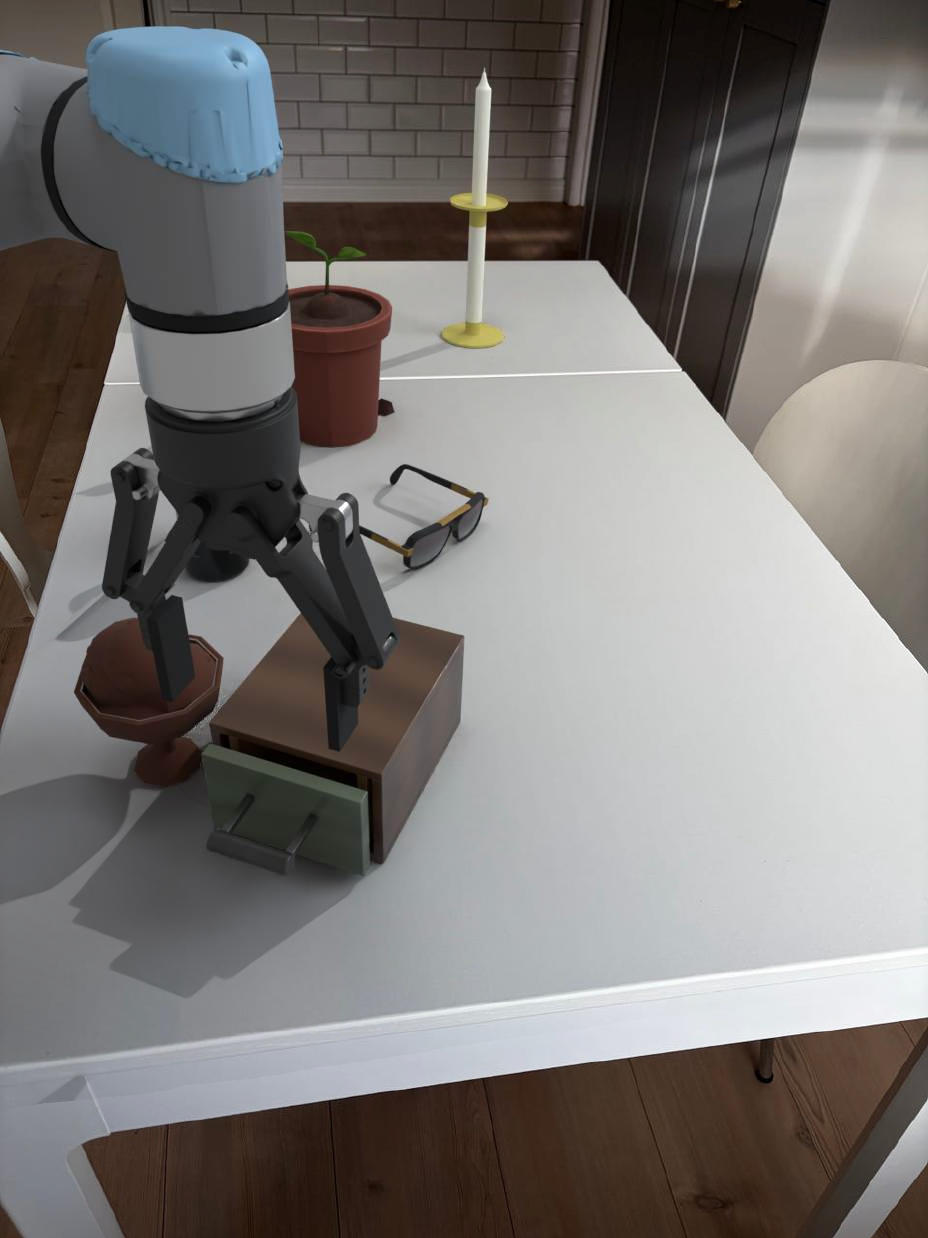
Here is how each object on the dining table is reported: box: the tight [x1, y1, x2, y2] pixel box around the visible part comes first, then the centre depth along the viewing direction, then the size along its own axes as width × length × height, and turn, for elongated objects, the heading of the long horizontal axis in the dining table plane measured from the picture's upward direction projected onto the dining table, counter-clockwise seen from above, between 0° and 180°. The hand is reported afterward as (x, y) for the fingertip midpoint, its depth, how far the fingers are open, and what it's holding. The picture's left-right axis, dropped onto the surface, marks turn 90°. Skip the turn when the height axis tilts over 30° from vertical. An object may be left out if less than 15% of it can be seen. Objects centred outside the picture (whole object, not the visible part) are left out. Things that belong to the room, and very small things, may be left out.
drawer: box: [201, 736, 373, 878], centre depth 75 cm, size 21×12×8 cm, turn 160°
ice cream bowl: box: [73, 617, 225, 788], centre depth 76 cm, size 11×11×15 cm
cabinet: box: [208, 612, 465, 865], centre depth 79 cm, size 17×14×10 cm
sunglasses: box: [308, 463, 490, 571], centre depth 109 cm, size 14×15×5 cm
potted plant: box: [284, 230, 395, 448], centre depth 124 cm, size 18×22×25 cm
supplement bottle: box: [174, 509, 251, 582], centre depth 100 cm, size 7×7×12 cm
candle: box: [440, 67, 509, 349], centre depth 145 cm, size 10×10×38 cm
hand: (259, 711), depth 63 cm, fingers open, 11 cm apart
